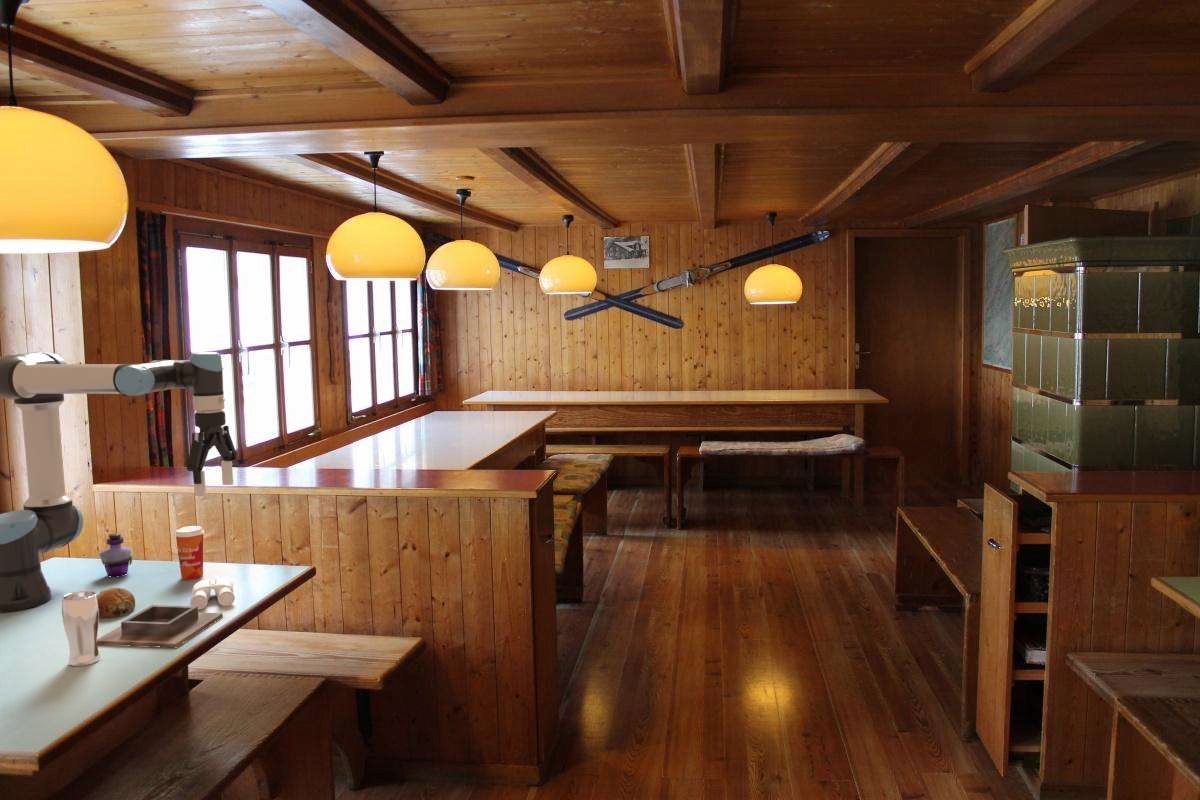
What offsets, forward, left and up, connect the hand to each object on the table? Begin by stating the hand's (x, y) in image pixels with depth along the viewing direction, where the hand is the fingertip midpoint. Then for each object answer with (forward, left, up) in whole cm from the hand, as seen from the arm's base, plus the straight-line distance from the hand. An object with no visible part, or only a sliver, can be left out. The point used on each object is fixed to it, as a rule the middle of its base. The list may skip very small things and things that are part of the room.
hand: (214, 490), depth 246 cm
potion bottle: (-38, +12, -28) cm, 49 cm away
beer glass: (-5, -47, -28) cm, 55 cm away
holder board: (+1, -28, -28) cm, 40 cm away
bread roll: (-19, -17, -28) cm, 38 cm away
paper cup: (-15, +12, -28) cm, 34 cm away
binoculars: (+1, -5, -28) cm, 29 cm away
